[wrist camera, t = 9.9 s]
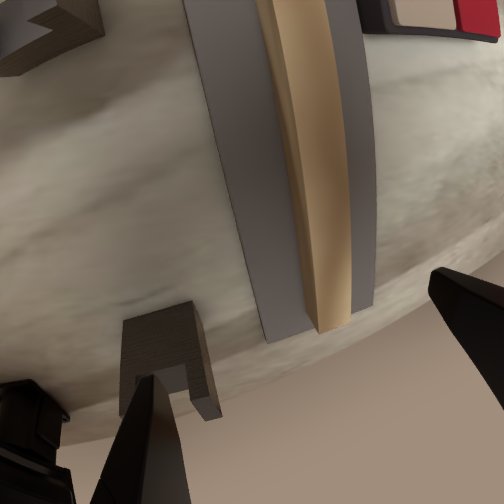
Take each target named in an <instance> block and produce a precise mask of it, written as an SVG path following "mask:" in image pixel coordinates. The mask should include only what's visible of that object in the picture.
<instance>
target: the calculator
mask: <svg viewBox="0 0 504 504" xmlns="http://www.w3.org/2000/svg"><path fill="white" fill-rule="evenodd" d="M356 4H357V9H358V14H359V19H360V24H361V30H362V33H364V34H401V35H427V36H441V37H452V38H461V39H469V40H477V41H483V42H489V43H497V42H498V38H499V37H500V36H501V32H500V23H499V15H498V8H497V2H496V0H356Z"/></svg>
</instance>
